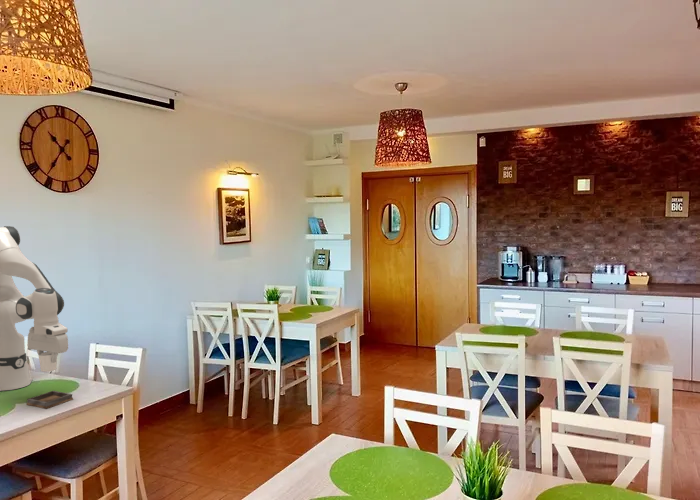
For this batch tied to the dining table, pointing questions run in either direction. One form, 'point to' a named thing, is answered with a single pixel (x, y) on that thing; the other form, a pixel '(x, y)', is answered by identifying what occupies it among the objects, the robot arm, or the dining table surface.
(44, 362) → the white cup
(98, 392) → the dining table surface
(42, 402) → the tray
